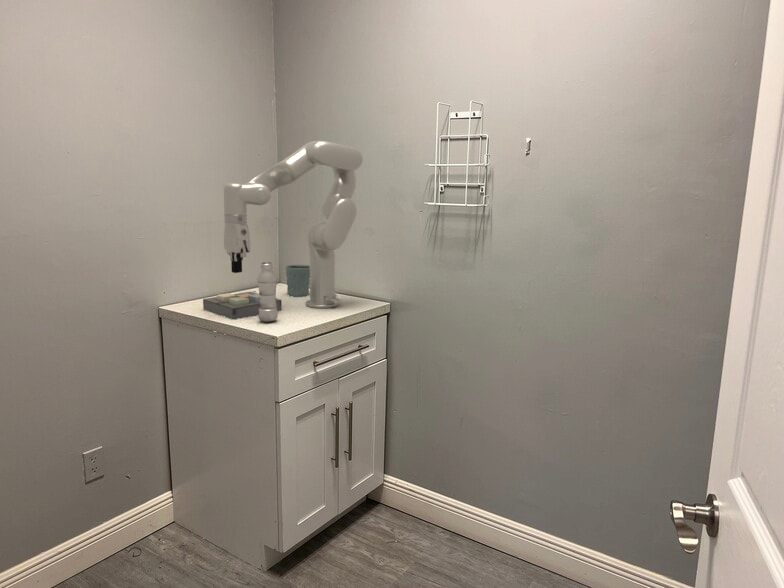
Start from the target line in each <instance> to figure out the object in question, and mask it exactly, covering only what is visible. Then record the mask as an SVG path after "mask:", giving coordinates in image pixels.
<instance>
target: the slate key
mask: <svg viewBox="0 0 784 588" xmlns="http://www.w3.org/2000/svg"><path fill="white" fill-rule="evenodd" d="M259 296H260V294H259V293H257V294H254V295H248V299H249V300H250V301H254V302H259V301H260V297H259Z"/></svg>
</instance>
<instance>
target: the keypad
mask: <svg viewBox="0 0 784 588" xmlns="http://www.w3.org/2000/svg"><path fill="white" fill-rule="evenodd" d="M232 294H233V295H241V294H251V295H254V294H258V293H256V292H254V291H246V292H240V293H239V292H238V293H232ZM202 305H203V307H202V308H203V311H206V312H209V313H213V314H215V315H219V316H221V315H222V316H221V317H224V316H225V318H227V317H228V318H227V319H230V318H232V319H231V320H233V319H234V320H238V319H237V318H240V319H244V318H243V317H245V318H249V317H248V316H250V317H254V315H255V316H258V310H259V302H254V301H250V300H249V303H247V304H242V305H233V304H230V303H229V301H225V302H223V301H220V300H217V296H214V297H208V298H203V299H202ZM276 307H277V311H278V312H281V311H282V310H283V309H282V307H283V306H282V299H281V298H276Z"/></svg>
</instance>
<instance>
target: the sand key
mask: <svg viewBox="0 0 784 588" xmlns="http://www.w3.org/2000/svg"><path fill="white" fill-rule="evenodd" d="M233 294H234V293H223V294H222V293H221V294H217V295H216V297H217V300H220V301H223V302H225V301H229V298H235V297H236V295H233Z"/></svg>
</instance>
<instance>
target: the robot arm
mask: <svg viewBox="0 0 784 588" xmlns="http://www.w3.org/2000/svg"><path fill="white" fill-rule="evenodd" d="M363 160H364V159H363V155H362V152H361V151H360V150H359V149H358V148H356V147H354V146H350V145H345V144H341V143H335V142H332V141H326V140H313V141H309V142H308V143H305V144H304V145H303V146H301V147H300V148H298V149H297V150H295V151H294V152H293V153H291V154H290V155H288V156H287V157H286V158H284V159H283V160H281V161H280V162H278V163H276V164H275V165H273V166H271V167H270V168H268V169H265V171H263V172H260V174H258V175H256V176H255V177H253V178H252V179H251V180H249V181H248V182H247V183H237V182H236V183H235V182H233V183H232V182H229V183H225V184H224V186H223V209H224V210H223V214H224V215H223V216H224V217H223V218H224V219H223V220H224V227H223V228H224V230H223V248H224V250H225V251H226V253H227V255H228V256H229V258H230V261H231V273H234V274H237V273H242V272H243V260H244V258H245V257H247V255H248V253H250V252H251V238H250V230H249V224H248V210H247V209H248V207H247V206H248V205H254V206H263V205H266V204H268V203H269V202H270V200H271V198H272V192H273V191H275V190H277V189H279V188H280V187H281V188H282V187H285V186H288V185H291V184H293V183H295V182H297V181H298V180H300V179H302V178H303V177H304V176H305V175H307V174H308V173H310V172H311V171H313V170H314V169H316V168H317V167H318V166H326V167H329V168H331V169H332V171H333V182H332V185H331V187H330V189H329V192H328V193H327V196H326V197H325V200H324V202H323V204H322V208H321V213H322V216H323V217H324V218H325V220H326V222H325V221H318V222H317V221H316V222H314V223H313V224H312V225H310V226H309V228H308V231H307V244H308V245H307V246H308V252H309V253H308V254H309V266H310V278H309V280H310V281H309V299H308V300H306V302H305V305H306V306H307V307H310V308H315V309H316V308H317V309H328V308H329V309H331V308H336V307H338V306H339V305H340V302H341V299H340V298H339V297H337V293H336V257H335V250H337V249H339V248H341V247H342V246H343V245H344V243H345V241H346V239H347V237H348V235H349V232H350V231H351V228H352V227H353V224H354V221H355V220H356V217H357V205H356V203H355V202H354V200H353V199H352V198H353V194H354V192H355V190H356V186H357V177H356V171H357V170H358V169H360V167H361V166H362V164H363Z"/></svg>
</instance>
